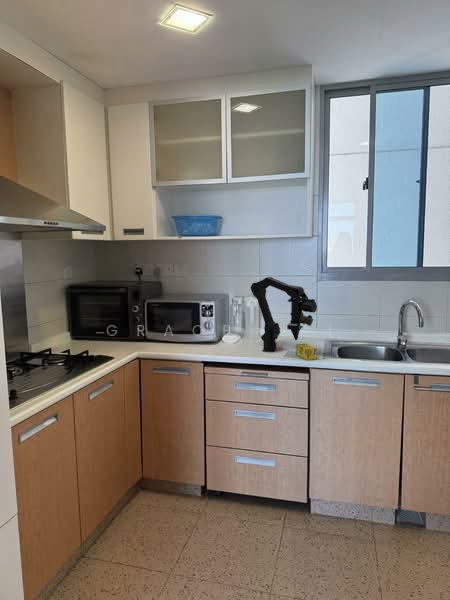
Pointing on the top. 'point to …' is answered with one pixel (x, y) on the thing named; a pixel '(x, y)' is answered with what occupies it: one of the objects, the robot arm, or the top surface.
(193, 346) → the top surface
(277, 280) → the robot arm
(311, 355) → the supplement box
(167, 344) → the top surface
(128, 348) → the top surface
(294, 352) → the mat
